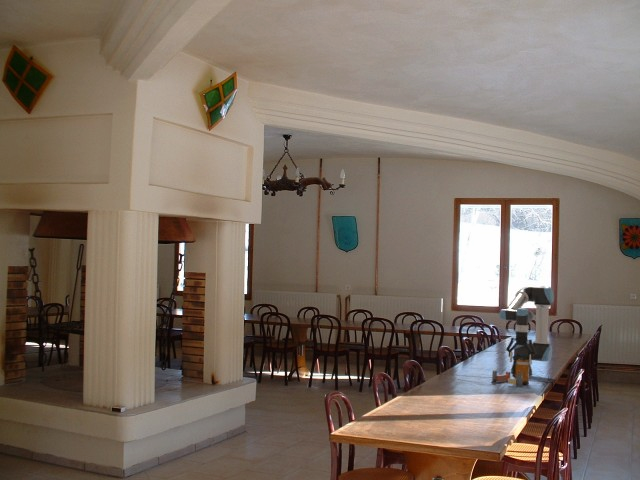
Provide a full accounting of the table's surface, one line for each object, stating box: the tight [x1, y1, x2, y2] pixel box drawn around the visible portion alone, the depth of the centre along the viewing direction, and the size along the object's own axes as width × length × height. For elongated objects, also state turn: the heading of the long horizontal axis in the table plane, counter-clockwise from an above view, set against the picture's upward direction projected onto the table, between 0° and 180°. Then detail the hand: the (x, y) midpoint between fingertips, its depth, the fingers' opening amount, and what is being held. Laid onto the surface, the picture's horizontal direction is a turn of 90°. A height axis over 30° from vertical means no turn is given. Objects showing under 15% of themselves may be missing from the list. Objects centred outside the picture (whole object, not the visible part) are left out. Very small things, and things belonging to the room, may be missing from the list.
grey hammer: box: [507, 374, 524, 388], centre depth 461 cm, size 4×8×8 cm, turn 52°
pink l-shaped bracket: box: [497, 371, 512, 383], centre depth 476 cm, size 2×13×6 cm, turn 127°
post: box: [490, 370, 498, 384], centre depth 470 cm, size 4×4×8 cm
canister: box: [512, 354, 530, 386], centre depth 470 cm, size 9×11×20 cm
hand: (520, 363), depth 470 cm, fingers open, 13 cm apart
